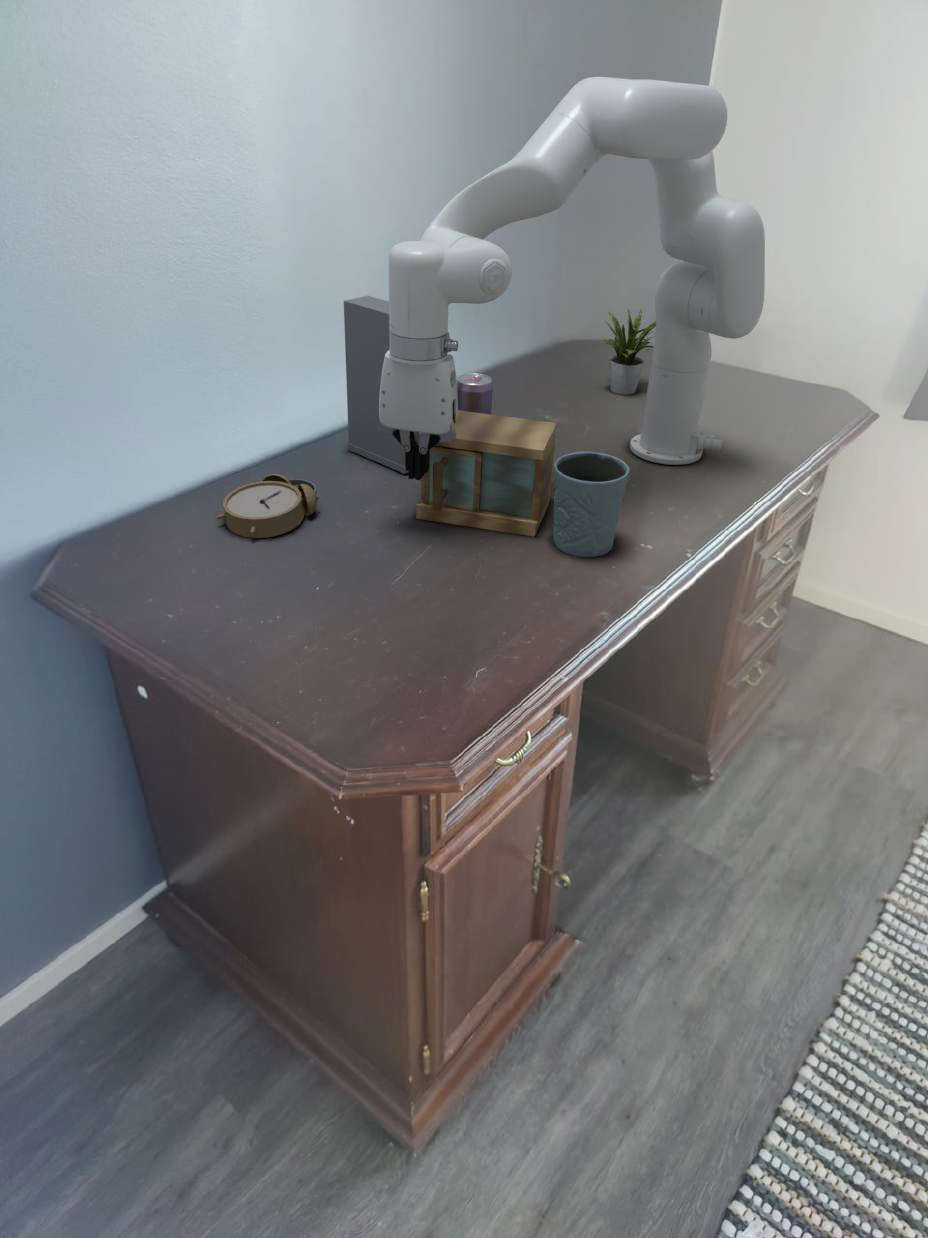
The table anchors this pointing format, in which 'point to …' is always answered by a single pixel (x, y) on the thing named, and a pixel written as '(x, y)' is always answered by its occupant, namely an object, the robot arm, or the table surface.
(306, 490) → the alarm clock
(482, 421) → the curio cabinet
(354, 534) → the table surface
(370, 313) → the cassette tape recorder
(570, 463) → the blue-grey pot
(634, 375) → the house plant
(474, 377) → the beverage can
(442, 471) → the cabinet door
